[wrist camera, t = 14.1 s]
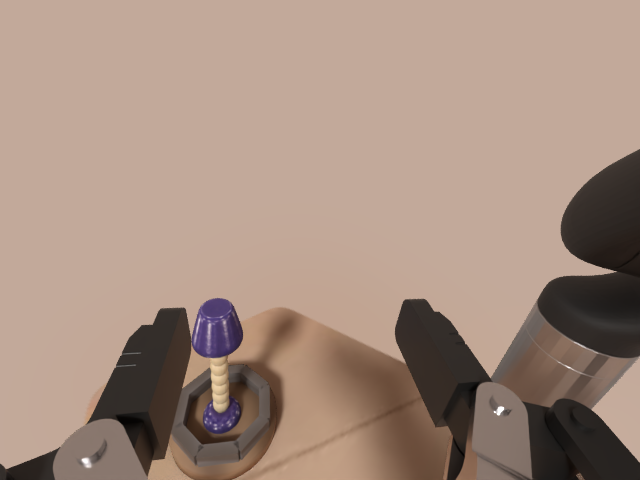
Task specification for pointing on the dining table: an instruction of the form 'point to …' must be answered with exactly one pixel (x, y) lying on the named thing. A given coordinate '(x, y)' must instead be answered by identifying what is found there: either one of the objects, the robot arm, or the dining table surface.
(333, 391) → the dining table surface
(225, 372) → the toy lamp
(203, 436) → the plinth
